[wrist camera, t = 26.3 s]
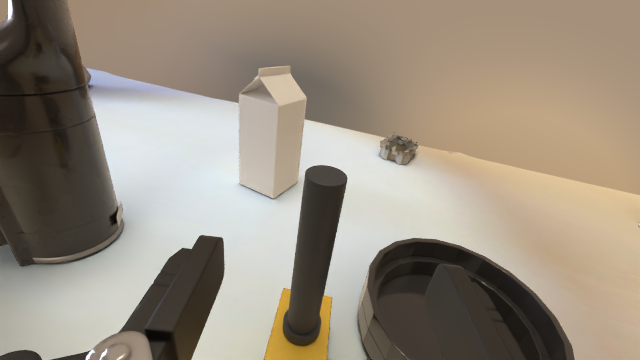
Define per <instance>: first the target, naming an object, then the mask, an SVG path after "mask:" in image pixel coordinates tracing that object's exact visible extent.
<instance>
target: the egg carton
mask: <svg viewBox="0 0 640 360" xmlns="http://www.w3.org/2000/svg"><path fill="white" fill-rule="evenodd" d="M380 145H381V146H380V147H381V150H380V153H379V155H380V156H381V157H382V158H383V159H385V160H387V159H391V160H394V161H396V163H397V164H408V161H409V160H411V157H412V155H413V156H414V155H415V150H416V149H417V148H418V142H416V143H413V142H412V139H408V138H406V137H403V136H399V135H397V134H396V133H395V132H394V133H393V134H391V135H390V136H389V137H387V138H386V139H384V140H383V141H381V142H380Z"/></svg>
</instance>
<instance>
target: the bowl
mask: <svg viewBox="0 0 640 360" xmlns="http://www.w3.org/2000/svg"><path fill="white" fill-rule="evenodd" d="M439 264H447V265H455V266H461V267H463V268H464V270H465V271H466V273H467V275H468V277H469V278H470V280H471V282H476V283H477V284H478V285H479V286H480V287H481V288H482V289H483V290H484V291H485V292H486V293H487V294H488V295H489V297H490V299H491V300H492V302H493V304H494V305H495V307H496V311H498V312H499V314H500V316H501V317H502V319H503V323H505V324H506V326H507V327H508V329H509V331H510V332H511V334H512V336H513V338H514V339H515V341H516V343H517V344H518V346H519V348H520V349H521V351H522V353H523V355H524V356H525V358H526V360H575V359H574V354H573V349H572V345H571V343H570V342H569V340H568V338H567V336H566V334H565V332H564V331H563V329H562V327H561V325H560V323H559V322H558V320H557V318H556V317H555V316H554V314H553V313H552V312H551V311H550V310H549V309H548V307H547V306H546V305H545V304H544V303H543V302H542V300H541V299H540V298H539V297H538V296H537V295H536V293H534V292H533V291H532V290H531V289H530V288H529V287H527V286H526V285H525V284H524V283H523V282H521V281H520V280H519V279H518V278H517V277H515V276H514V275H513V274H512V273H510V272H509V271H508V270H506V269H504V268H503V267H501V266H499V265H498V264H496V263H495V262H493V261H491V260H490V259H488V258H487V257H485V256H483V255H480V254H478V253H476V252H473V251H471V250H469V249H466V248H464V247H462V246H459V245H456V244H452V243H448V242H444V241H440V240H436V239H421V238H412V239H407V240H401V241H396V242H394V243H392V244H390V245H389V246H387V247H385V248H384V249H382V250H380V251H379V253H378V254H377V255H376V257H375V258H374V260H373V261H372V263H371V264H370V266H369V270H368V273H367V276H366V280H365V283H364V286H363V290H362V293H361V297H360V304H359V311H358V320H359V325H360V330H361V335H362V340H363V343H364V346H365V348H366V350H367V352H368V354H369V356H370V358H371V360H444V359H443V356H442V353H441V351H440V348H439V345H438V342H437V339H436V336H435V333H434V330H433V327H432V324H431V322H430V319H429V316H428V313H427V310H426V306H425V293H426V290H427V288H428V285H429V283H430V281H431V279H432V277H433V275H434V272H435V270H436V268H437V266H438V265H439Z"/></svg>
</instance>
